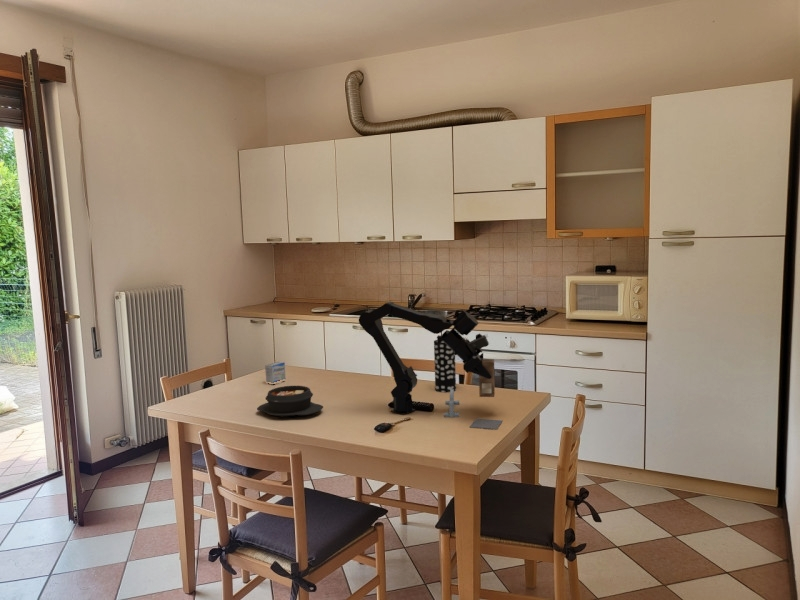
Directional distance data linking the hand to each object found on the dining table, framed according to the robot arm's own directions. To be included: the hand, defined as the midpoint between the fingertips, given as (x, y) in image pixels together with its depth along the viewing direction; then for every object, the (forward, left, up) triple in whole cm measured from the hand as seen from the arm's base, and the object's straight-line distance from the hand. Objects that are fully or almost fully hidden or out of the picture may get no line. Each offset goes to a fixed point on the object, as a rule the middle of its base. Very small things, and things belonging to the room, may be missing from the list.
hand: (490, 376), depth 205 cm
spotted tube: (-35, +15, -14) cm, 41 cm away
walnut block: (-1, -1, -7) cm, 7 cm away
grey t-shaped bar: (-15, -4, -14) cm, 20 cm away
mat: (+5, -9, -14) cm, 17 cm away
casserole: (-58, -44, -14) cm, 74 cm away
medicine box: (-102, -22, -14) cm, 105 cm away
